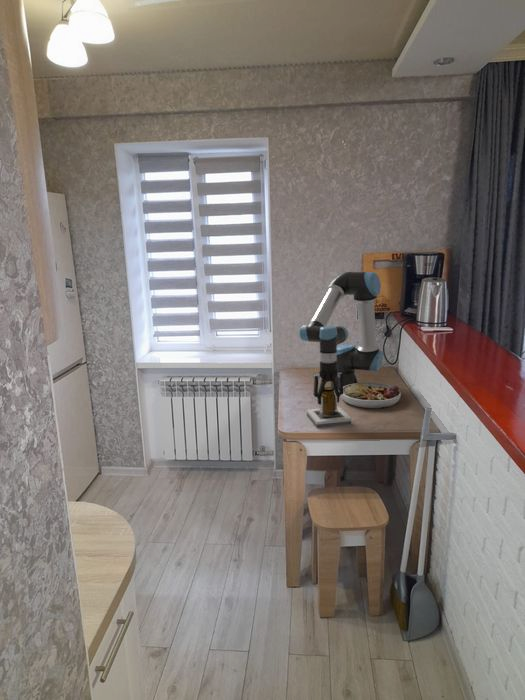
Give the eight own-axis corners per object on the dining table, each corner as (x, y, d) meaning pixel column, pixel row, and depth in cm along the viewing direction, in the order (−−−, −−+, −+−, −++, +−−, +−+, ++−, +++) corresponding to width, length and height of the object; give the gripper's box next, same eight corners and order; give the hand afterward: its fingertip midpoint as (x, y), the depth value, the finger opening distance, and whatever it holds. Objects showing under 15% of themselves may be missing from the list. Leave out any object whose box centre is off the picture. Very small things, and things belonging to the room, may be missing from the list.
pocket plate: (306, 415, 221) (306, 409, 221) (338, 411, 224) (338, 406, 224) (316, 427, 206) (316, 422, 205) (351, 424, 209) (351, 418, 208)
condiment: (318, 411, 217) (318, 386, 214) (335, 409, 219) (335, 384, 216) (324, 416, 210) (324, 391, 207) (342, 414, 212) (342, 389, 209)
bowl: (341, 410, 227) (341, 394, 225) (339, 391, 256) (339, 377, 254) (405, 411, 223) (405, 395, 221) (395, 391, 252) (396, 377, 250)
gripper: (310, 364, 204) (310, 414, 209) (351, 361, 207) (351, 410, 212) (305, 360, 211) (306, 409, 216) (345, 357, 214) (345, 405, 219)
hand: (328, 409), depth 214 cm, fingers closed on condiment, 6 cm apart
